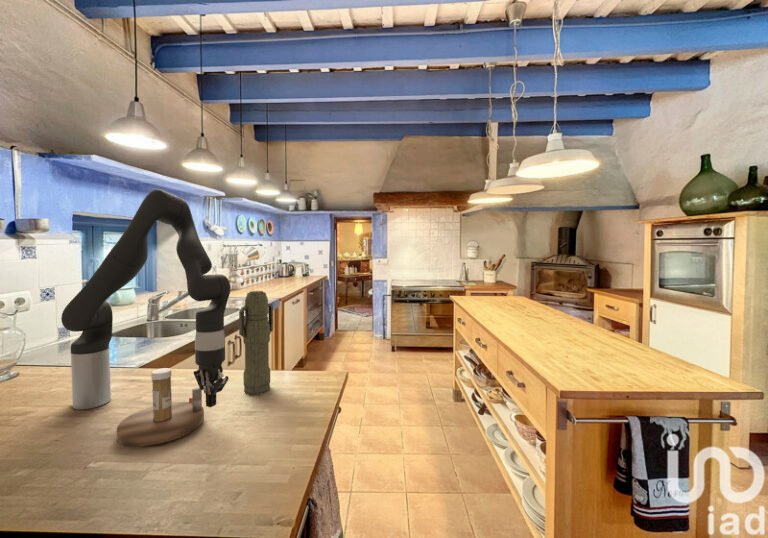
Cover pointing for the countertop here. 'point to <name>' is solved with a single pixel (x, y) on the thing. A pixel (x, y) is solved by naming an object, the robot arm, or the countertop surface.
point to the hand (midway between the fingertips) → (211, 405)
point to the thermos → (256, 341)
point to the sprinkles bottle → (162, 394)
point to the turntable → (162, 423)
